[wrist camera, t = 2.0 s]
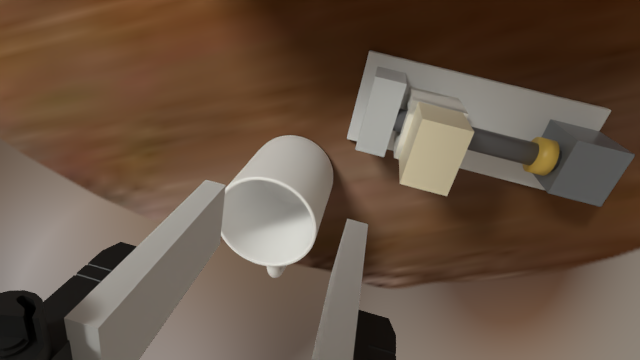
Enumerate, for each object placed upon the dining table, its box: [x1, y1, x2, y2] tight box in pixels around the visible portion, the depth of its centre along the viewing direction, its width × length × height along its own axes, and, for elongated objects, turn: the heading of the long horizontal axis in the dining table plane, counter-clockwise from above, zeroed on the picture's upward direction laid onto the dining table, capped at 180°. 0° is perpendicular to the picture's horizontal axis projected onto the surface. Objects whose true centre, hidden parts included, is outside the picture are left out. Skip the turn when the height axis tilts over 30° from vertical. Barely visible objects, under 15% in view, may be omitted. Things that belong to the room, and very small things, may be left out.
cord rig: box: [347, 50, 635, 207], centre depth 30 cm, size 20×8×6 cm, turn 78°
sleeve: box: [394, 86, 474, 196], centre depth 28 cm, size 4×5×9 cm
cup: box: [221, 135, 333, 278], centre depth 35 cm, size 8×12×10 cm
